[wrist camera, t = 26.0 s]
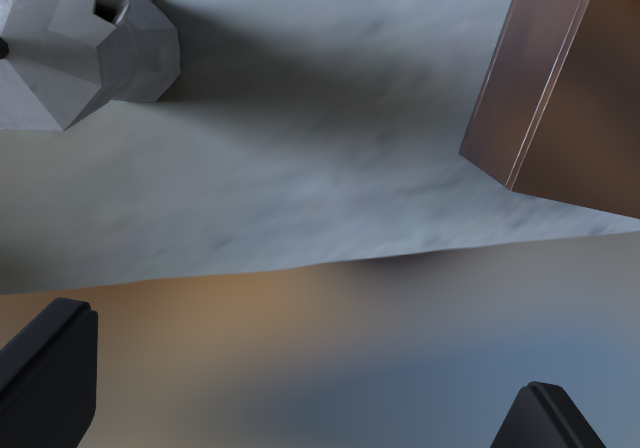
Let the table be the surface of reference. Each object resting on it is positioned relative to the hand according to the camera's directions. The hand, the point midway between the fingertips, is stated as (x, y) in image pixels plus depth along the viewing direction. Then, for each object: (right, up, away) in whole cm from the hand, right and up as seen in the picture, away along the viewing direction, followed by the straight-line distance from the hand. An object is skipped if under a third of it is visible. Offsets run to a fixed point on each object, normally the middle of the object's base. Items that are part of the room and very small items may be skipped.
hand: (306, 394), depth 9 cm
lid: (+21, +12, +18) cm, 31 cm away
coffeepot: (-17, +19, +27) cm, 37 cm away
